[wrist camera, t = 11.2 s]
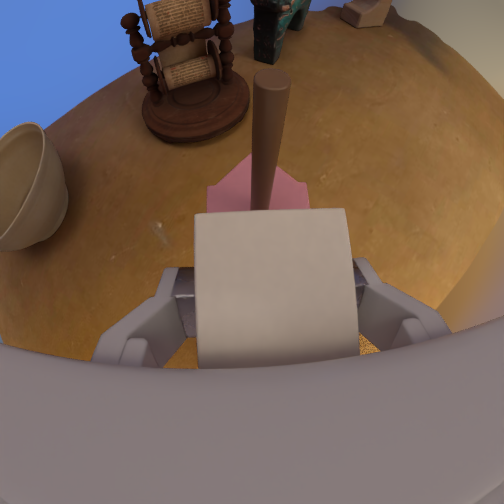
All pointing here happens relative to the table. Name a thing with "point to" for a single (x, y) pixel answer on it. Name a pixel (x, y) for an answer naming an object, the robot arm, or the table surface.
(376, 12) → the decorative block
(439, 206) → the table surface
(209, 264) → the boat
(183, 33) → the scroll
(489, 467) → the robot arm
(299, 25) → the ceramic cat
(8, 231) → the planter bowl
